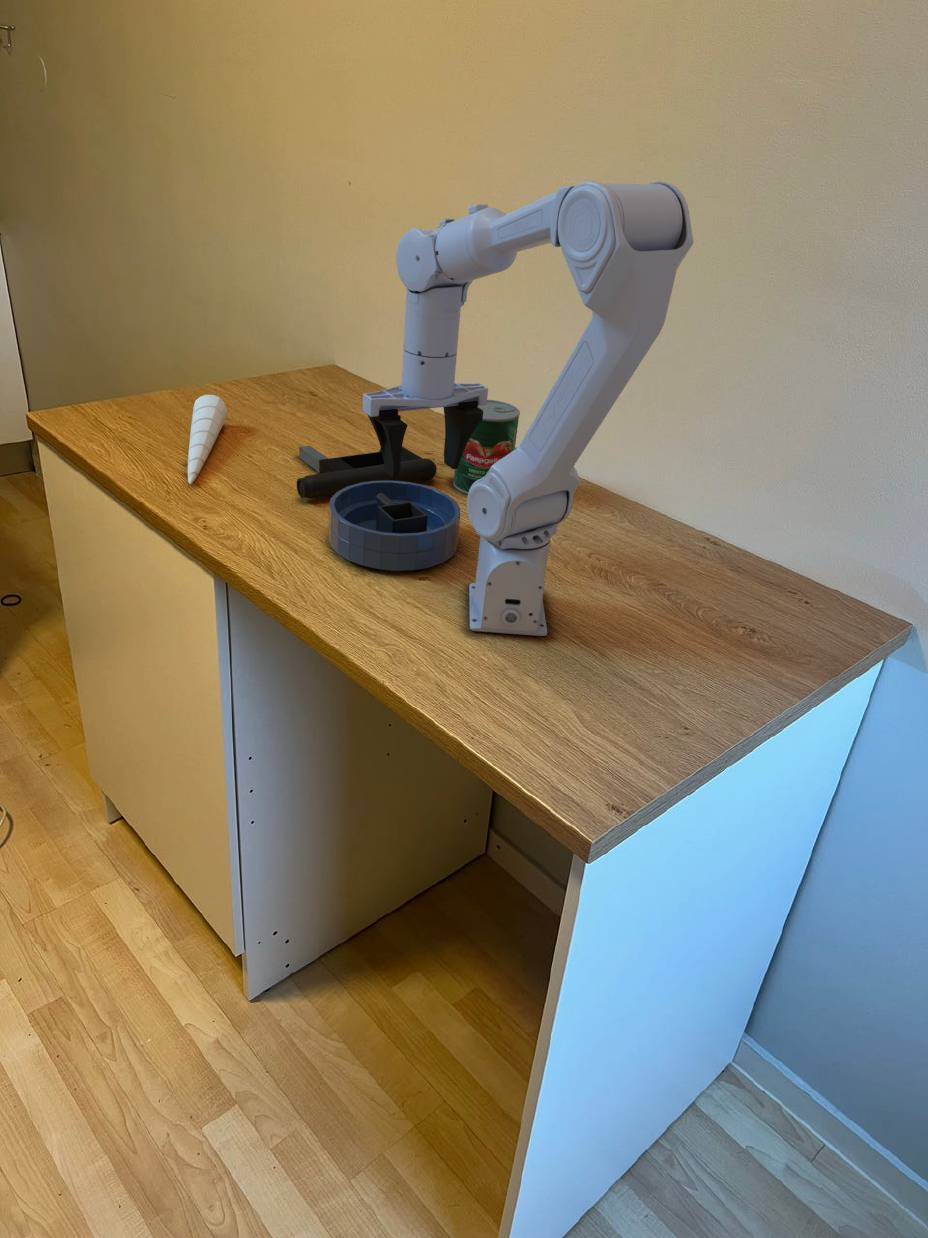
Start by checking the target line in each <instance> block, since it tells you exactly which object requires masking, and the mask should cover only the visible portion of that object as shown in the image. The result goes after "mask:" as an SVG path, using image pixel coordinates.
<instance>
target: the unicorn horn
mask: <svg viewBox="0 0 928 1238" xmlns="http://www.w3.org/2000/svg"><path fill="white" fill-rule="evenodd" d="M191 415H192V417H191V422H190V423H191V424H190V433H189V443H188V444H189V445H188V455H187V481H188V484H189V485H191V484H193V483H194V481H195V480H196V479H197V477H198V476H199V473H200V472H201V471H202V469H203V466H204V465H205V462H206V461H207V458H208V457H209V455H210V453H211V451H212V449H213V447H214V444H215V443H216V441H217V439H218V436H219V434H220V432H221V429H222V428H223V426H224V423H226V419H227V416H228V409H227V405H226V404H225V401H224V400H223V399H222V398H221V397H220V396H218V395H215V394H204V395H200V396H199V397H197V399H195V401H194V404H193V407H192V414H191Z"/></svg>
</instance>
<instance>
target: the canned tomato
mask: <svg viewBox="0 0 928 1238" xmlns="http://www.w3.org/2000/svg"><path fill="white" fill-rule="evenodd" d="M478 408H480V409H482V410H483V419H482V421H481V422H480V423H479V424H478V426H477V427H476V429H475V430H474V432H473V433H472V435H471V437H470V439H469V440H468V443H467V445H466V447H465V449H464V452H463V454H462V457H461V460H460V463H459V466H458V468H457V469H454V477H453V481H452V484H453V487H454V488H455V489H456V490H457V491H458V492H460V493H462V494H465V495H467V496H468V493H469V490H470V488H471V486H472V484H473V483H474V482H475V481H477V480H479V479H481V478H483V477H484V476H485V475H486V474H487V473H488V471H489V469H490V468H491V466H492V465H493V464H495V463H496V462H498V461H499V460H500V459H502V458H503V457H505V456H506V455H508V454H509V453H511V452H512V451H514V450H515V449H516V443H517V442H516V441H517V434H518V427H519V420H520V419H519V418H520V414H521V412H520V409H519V408H518V407H516V406H515V405H513V404H511V403H508V402H504V401H501V400H495V399H487V404H486V405H478Z"/></svg>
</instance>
